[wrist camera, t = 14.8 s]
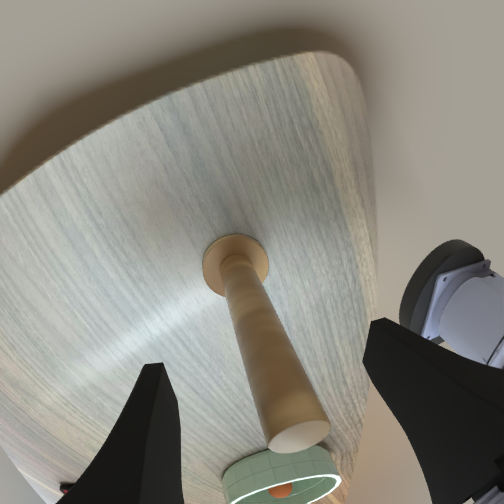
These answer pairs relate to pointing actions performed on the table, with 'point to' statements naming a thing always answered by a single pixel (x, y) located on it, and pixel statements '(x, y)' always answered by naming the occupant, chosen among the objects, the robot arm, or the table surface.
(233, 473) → the mixing bowl
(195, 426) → the table surface
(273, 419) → the stick
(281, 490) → the ball
